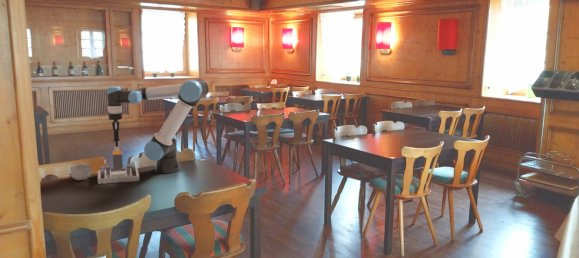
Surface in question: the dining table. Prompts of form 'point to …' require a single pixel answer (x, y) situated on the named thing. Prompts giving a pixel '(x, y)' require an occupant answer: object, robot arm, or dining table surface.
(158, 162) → the robot arm
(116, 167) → the lever
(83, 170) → the teacup
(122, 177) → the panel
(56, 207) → the dining table surface
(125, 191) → the dining table surface
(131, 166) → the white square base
